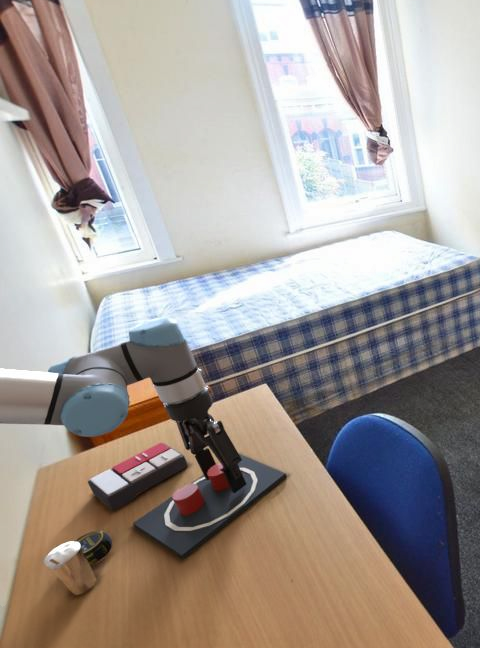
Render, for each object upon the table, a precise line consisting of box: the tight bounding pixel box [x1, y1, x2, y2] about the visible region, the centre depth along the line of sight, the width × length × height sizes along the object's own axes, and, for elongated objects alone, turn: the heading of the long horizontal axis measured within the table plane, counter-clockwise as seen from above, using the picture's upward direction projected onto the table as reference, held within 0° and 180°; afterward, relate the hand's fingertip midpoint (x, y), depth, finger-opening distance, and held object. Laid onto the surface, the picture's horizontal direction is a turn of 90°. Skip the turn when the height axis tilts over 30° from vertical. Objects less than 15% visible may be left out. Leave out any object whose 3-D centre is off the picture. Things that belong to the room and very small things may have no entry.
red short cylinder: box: [207, 462, 230, 491], centre depth 100 cm, size 4×4×4 cm
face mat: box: [132, 453, 287, 560], centre depth 97 cm, size 22×18×1 cm
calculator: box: [87, 442, 189, 512], centre depth 105 cm, size 11×4×15 cm
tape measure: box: [73, 529, 114, 567], centre depth 86 cm, size 7×7×4 cm
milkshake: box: [43, 541, 97, 596], centre depth 79 cm, size 4×5×10 cm
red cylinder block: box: [171, 483, 205, 515], centre depth 94 cm, size 4×4×4 cm
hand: (226, 481), depth 100 cm, fingers open, 9 cm apart
